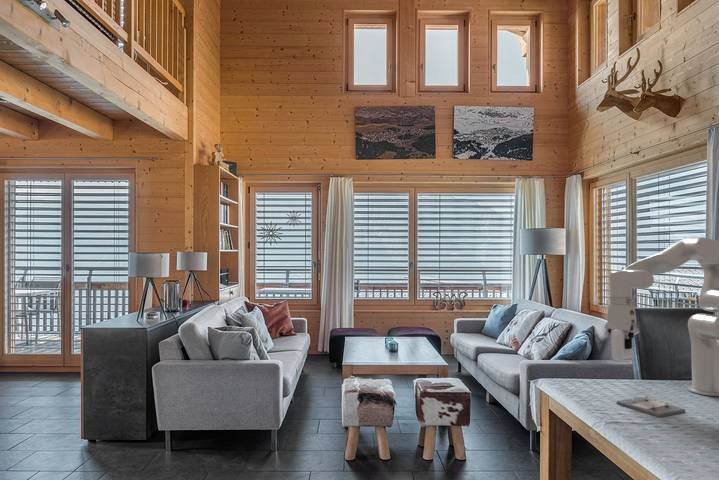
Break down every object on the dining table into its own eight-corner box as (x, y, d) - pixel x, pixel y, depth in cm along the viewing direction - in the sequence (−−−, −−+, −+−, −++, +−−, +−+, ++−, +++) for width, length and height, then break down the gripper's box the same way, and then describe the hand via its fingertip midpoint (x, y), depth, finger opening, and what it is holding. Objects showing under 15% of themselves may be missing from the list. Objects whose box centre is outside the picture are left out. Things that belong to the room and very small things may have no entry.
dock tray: (642, 399, 181) (642, 392, 181) (685, 412, 166) (685, 404, 167) (616, 403, 176) (616, 397, 176) (658, 417, 161) (658, 409, 161)
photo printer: (623, 356, 192) (622, 325, 193) (634, 358, 188) (633, 327, 189) (609, 359, 186) (608, 328, 187) (620, 361, 183) (619, 329, 183)
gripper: (647, 303, 182) (648, 350, 181) (608, 299, 198) (609, 343, 197) (633, 303, 179) (635, 352, 178) (595, 300, 195) (596, 344, 194)
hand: (621, 347), depth 188 cm, fingers closed on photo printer, 4 cm apart
